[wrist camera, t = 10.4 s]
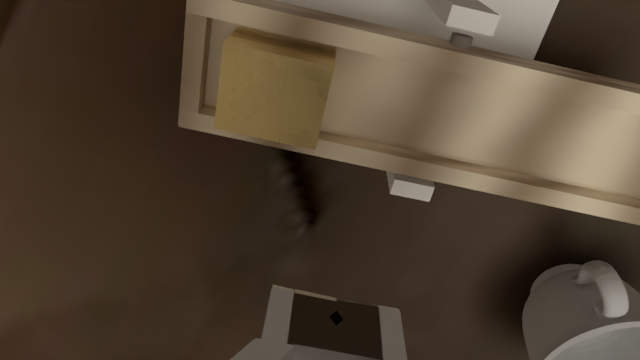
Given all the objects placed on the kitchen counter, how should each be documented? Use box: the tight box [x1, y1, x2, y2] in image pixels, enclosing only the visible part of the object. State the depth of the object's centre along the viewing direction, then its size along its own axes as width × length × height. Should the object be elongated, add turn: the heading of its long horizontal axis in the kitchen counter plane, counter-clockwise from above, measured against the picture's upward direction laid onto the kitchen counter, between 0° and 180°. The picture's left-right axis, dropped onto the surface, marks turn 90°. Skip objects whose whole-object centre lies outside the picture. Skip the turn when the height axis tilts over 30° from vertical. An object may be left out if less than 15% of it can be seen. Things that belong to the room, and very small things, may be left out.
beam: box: [178, 0, 640, 225], centre depth 27 cm, size 27×8×5 cm, turn 78°
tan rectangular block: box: [214, 26, 336, 150], centre depth 24 cm, size 5×4×4 cm
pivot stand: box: [275, 0, 559, 202], centre depth 29 cm, size 19×13×9 cm
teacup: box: [522, 260, 640, 360], centre depth 37 cm, size 12×15×10 cm
